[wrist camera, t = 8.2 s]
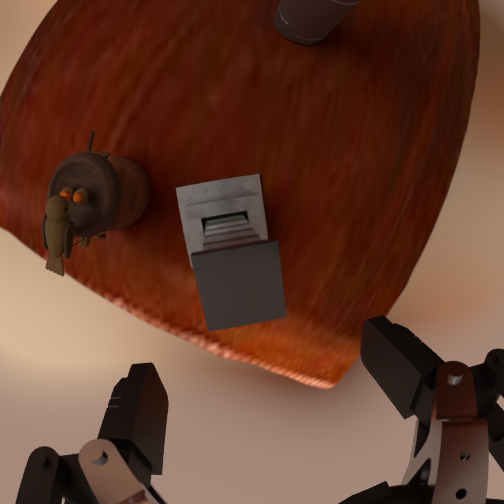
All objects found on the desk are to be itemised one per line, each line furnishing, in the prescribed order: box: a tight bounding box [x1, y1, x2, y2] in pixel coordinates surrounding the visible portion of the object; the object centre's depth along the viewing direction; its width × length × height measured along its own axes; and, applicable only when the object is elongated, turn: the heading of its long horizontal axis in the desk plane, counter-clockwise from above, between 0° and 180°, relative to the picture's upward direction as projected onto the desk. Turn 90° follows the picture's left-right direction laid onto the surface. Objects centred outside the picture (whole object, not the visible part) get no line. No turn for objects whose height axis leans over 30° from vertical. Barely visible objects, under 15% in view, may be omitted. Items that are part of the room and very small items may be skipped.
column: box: [191, 212, 286, 332], centre depth 25 cm, size 5×5×19 cm
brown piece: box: [42, 130, 150, 276], centre depth 27 cm, size 15×11×20 cm
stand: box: [176, 174, 268, 268], centre depth 34 cm, size 12×12×12 cm
